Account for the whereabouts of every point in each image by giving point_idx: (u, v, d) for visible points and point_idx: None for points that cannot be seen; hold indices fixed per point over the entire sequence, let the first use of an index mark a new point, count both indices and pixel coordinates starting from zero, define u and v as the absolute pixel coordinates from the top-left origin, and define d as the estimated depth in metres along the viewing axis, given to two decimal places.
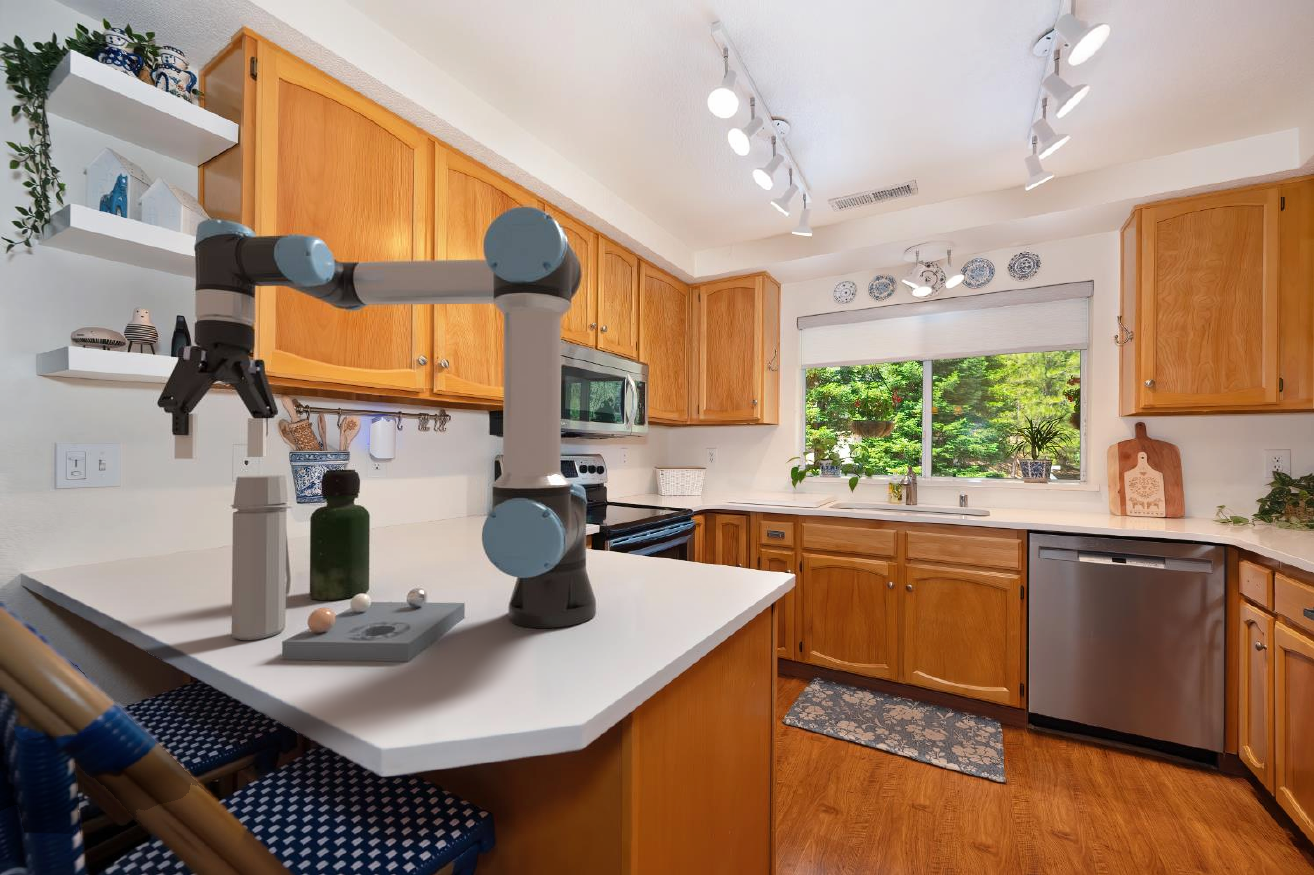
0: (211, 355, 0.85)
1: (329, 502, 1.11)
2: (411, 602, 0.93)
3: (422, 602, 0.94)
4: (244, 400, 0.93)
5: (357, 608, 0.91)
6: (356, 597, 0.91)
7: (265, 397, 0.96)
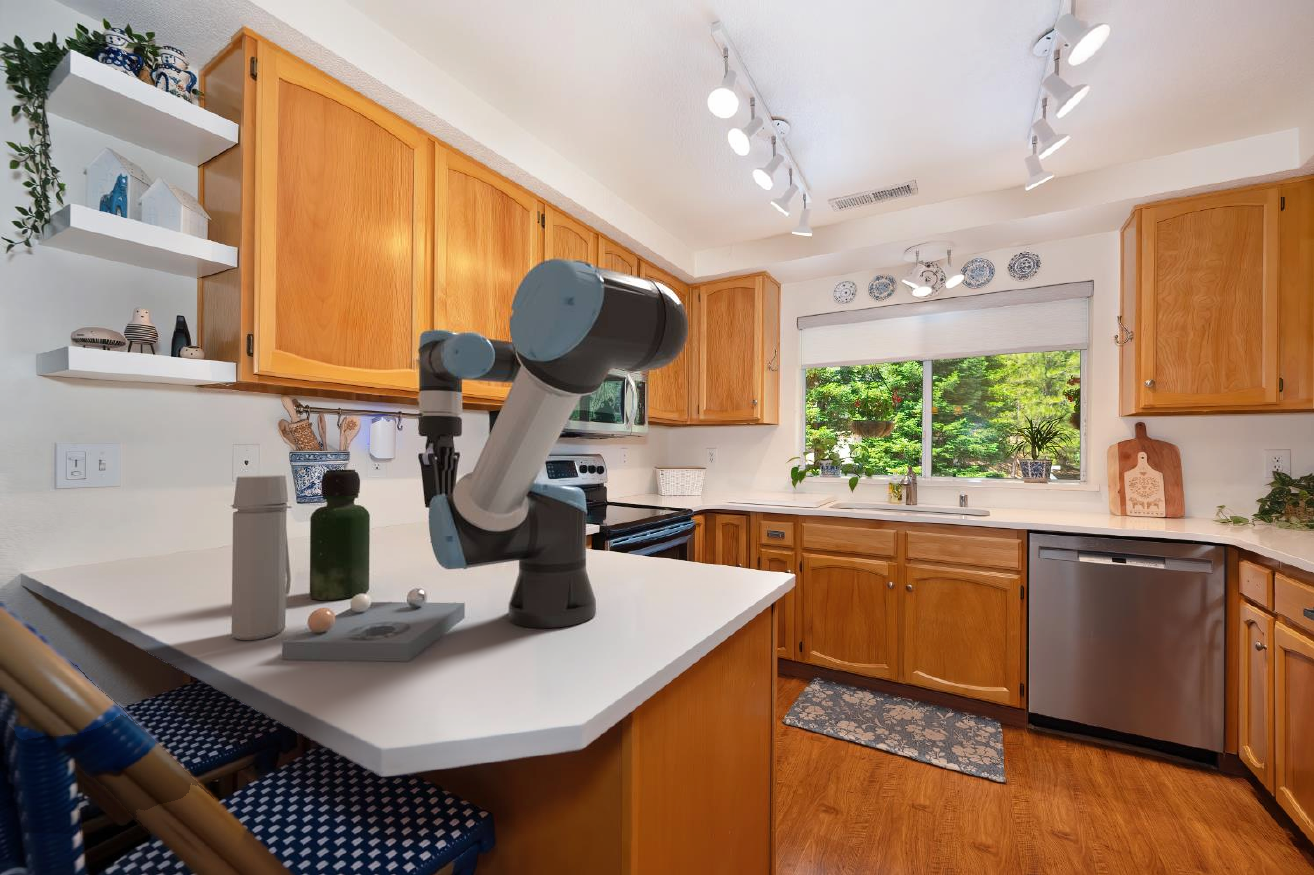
0: (437, 448, 1.01)
1: (329, 502, 1.11)
2: (411, 602, 0.93)
3: (422, 602, 0.94)
4: None
5: (357, 608, 0.91)
6: (356, 597, 0.91)
7: (451, 483, 1.07)
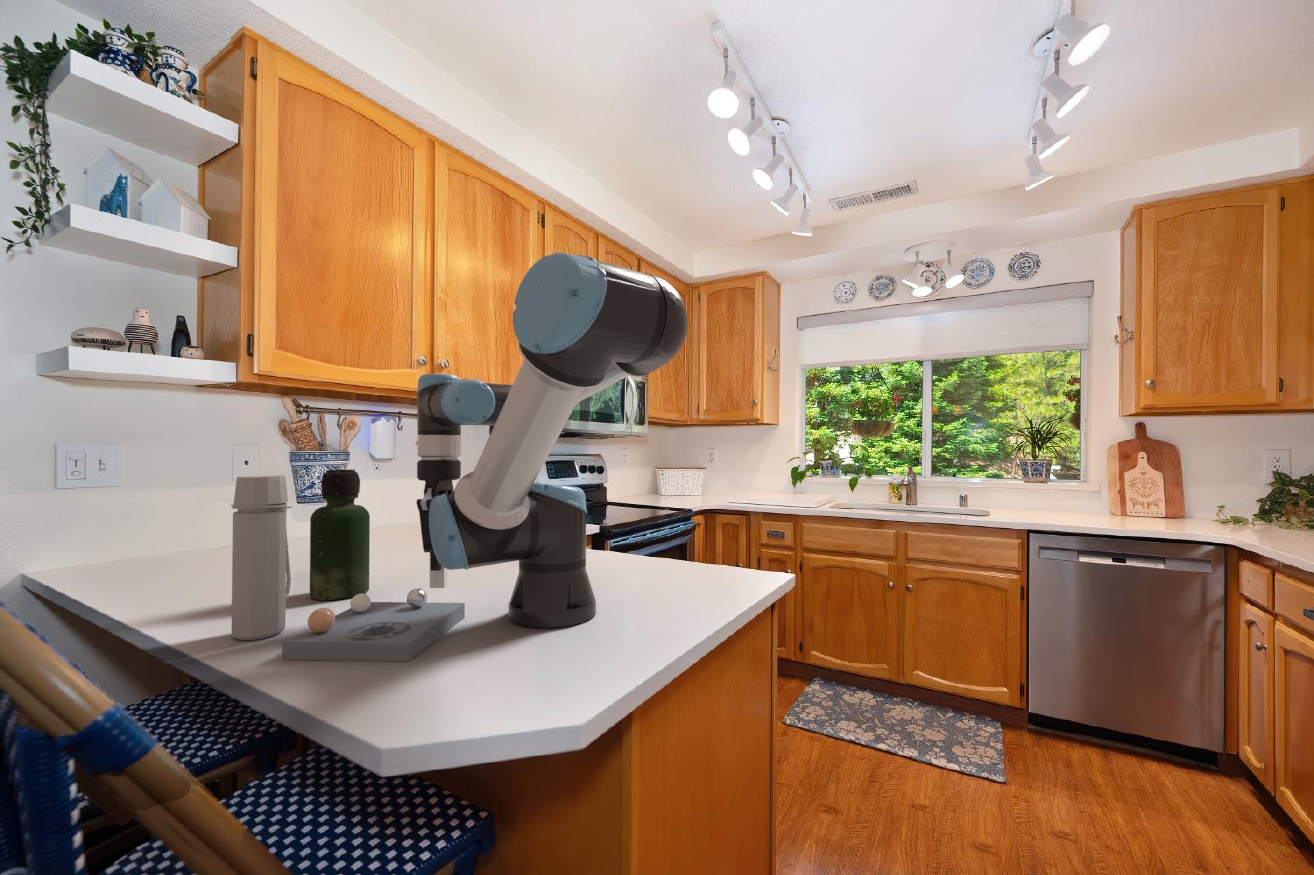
0: (435, 493, 1.00)
1: (329, 502, 1.11)
2: (411, 602, 0.93)
3: (422, 602, 0.94)
4: None
5: (357, 608, 0.91)
6: (356, 597, 0.91)
7: None
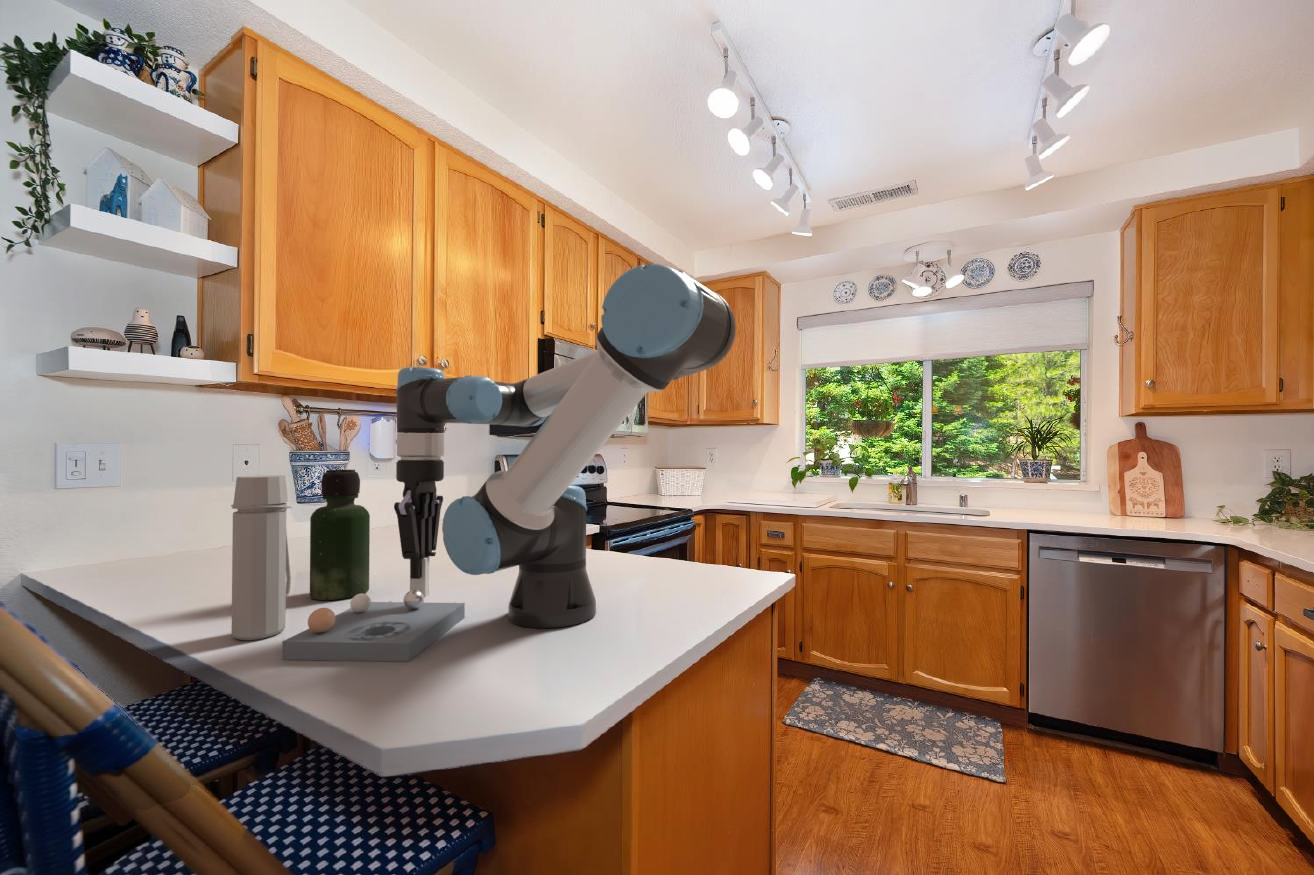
0: (415, 496, 0.93)
1: (329, 502, 1.11)
2: (409, 608, 0.93)
3: (421, 604, 0.93)
4: None
5: (357, 608, 0.91)
6: (356, 597, 0.91)
7: (432, 530, 0.99)
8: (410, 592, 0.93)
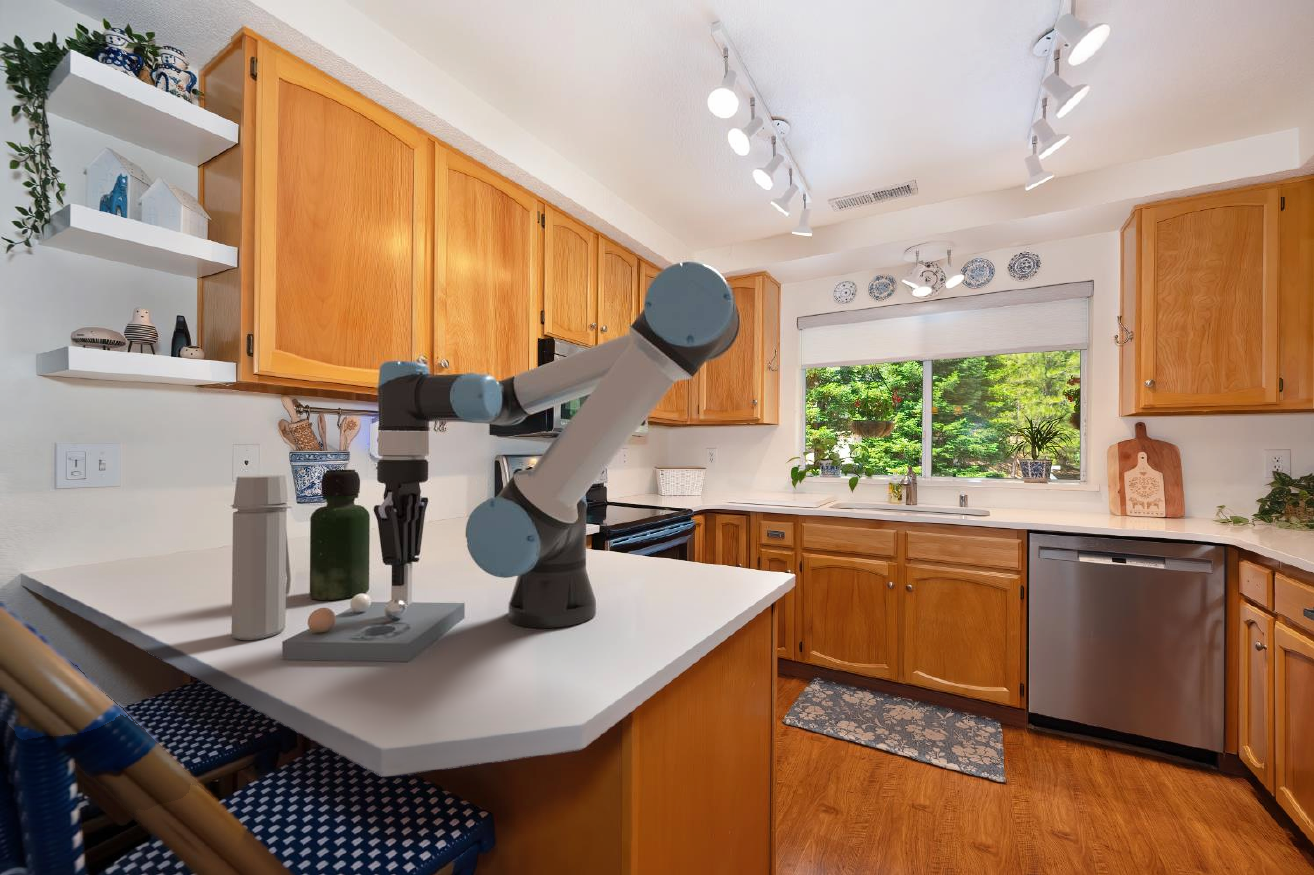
0: (397, 498, 0.87)
1: (329, 502, 1.11)
2: None
3: (405, 604, 0.89)
4: None
5: (357, 608, 0.91)
6: (356, 597, 0.91)
7: (416, 534, 0.94)
8: None
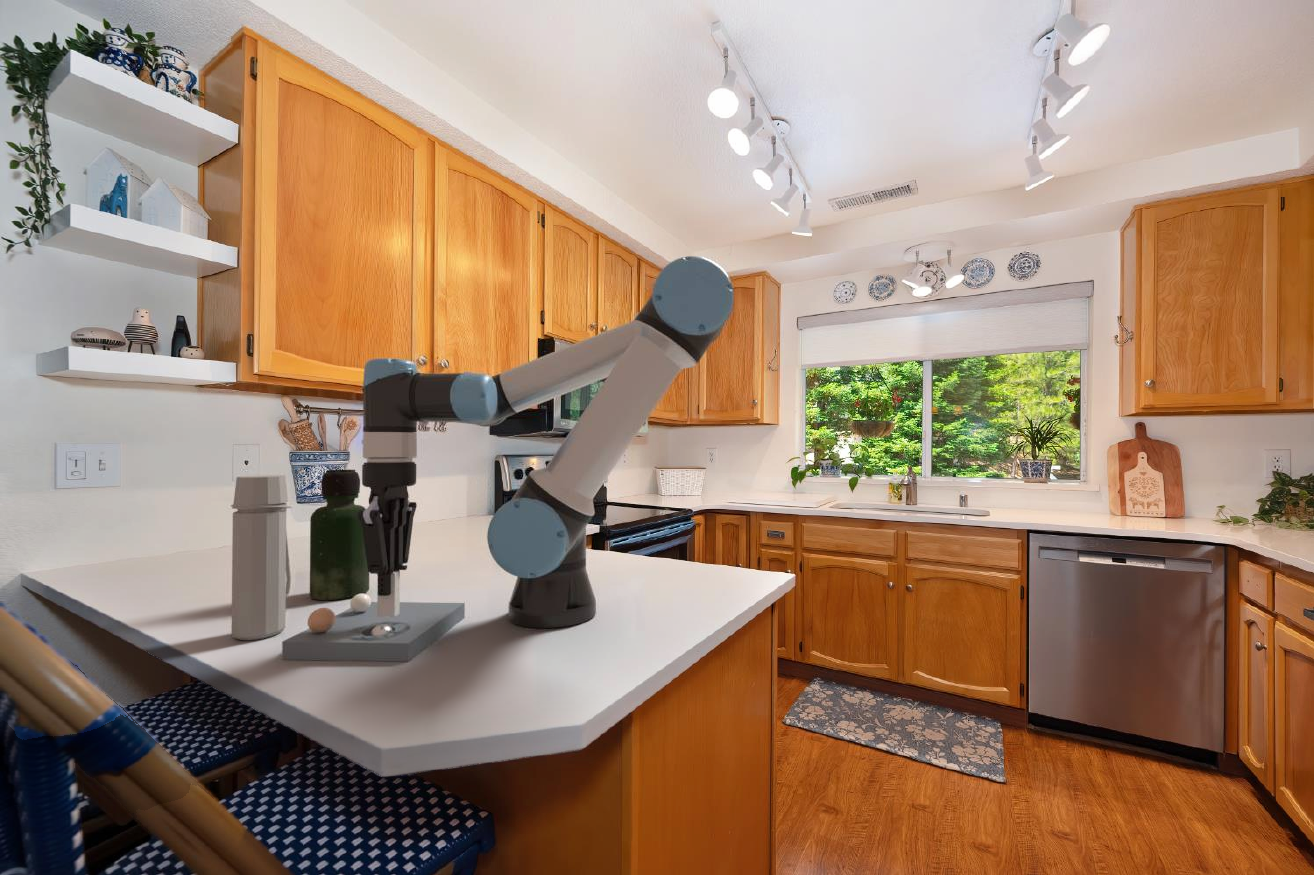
0: (383, 503, 0.82)
1: (329, 502, 1.11)
2: None
3: None
4: None
5: (357, 608, 0.91)
6: (356, 597, 0.91)
7: (404, 540, 0.89)
8: (379, 627, 0.83)
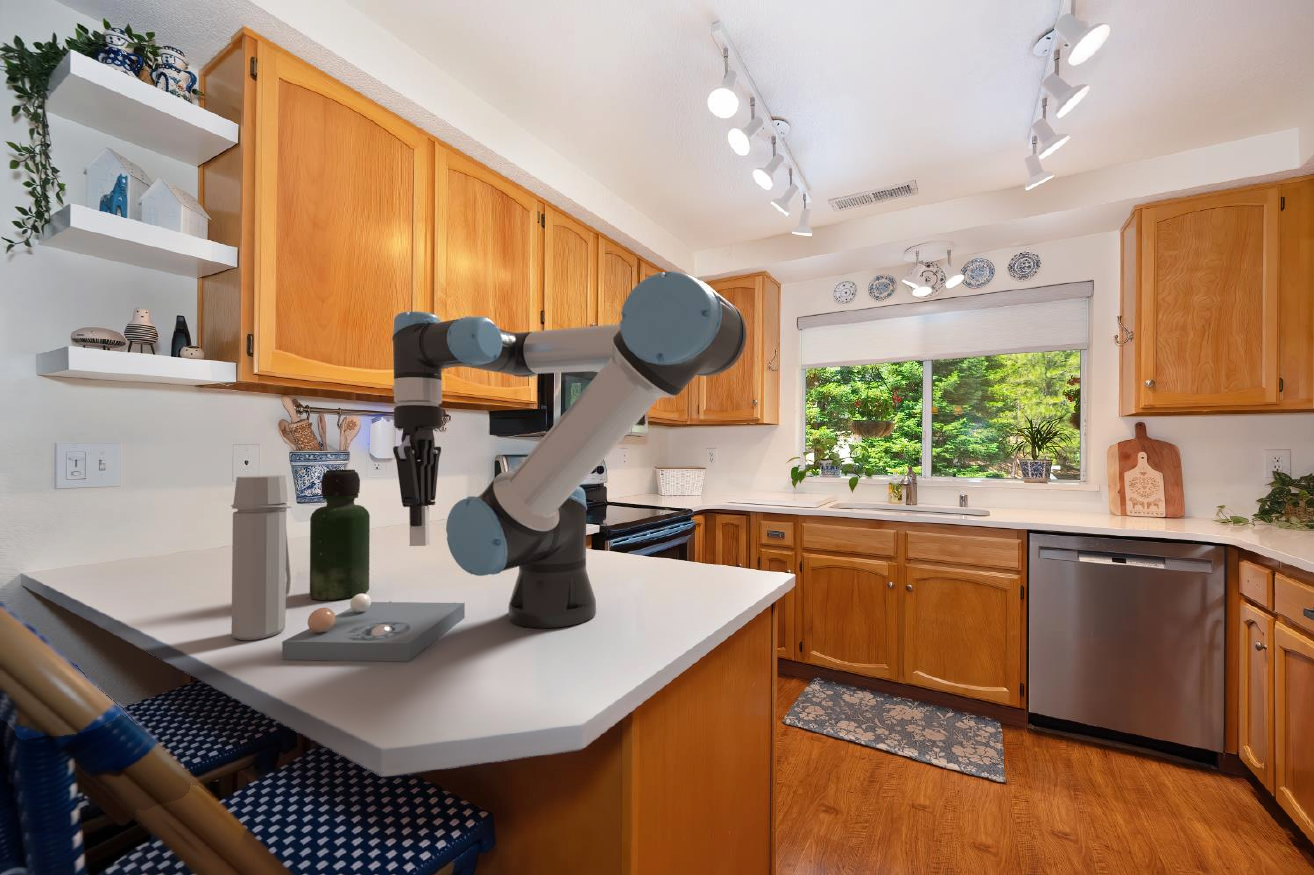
0: (414, 441, 0.91)
1: (329, 502, 1.11)
2: None
3: None
4: None
5: (357, 608, 0.91)
6: (356, 597, 0.91)
7: (431, 480, 0.98)
8: (378, 628, 0.83)
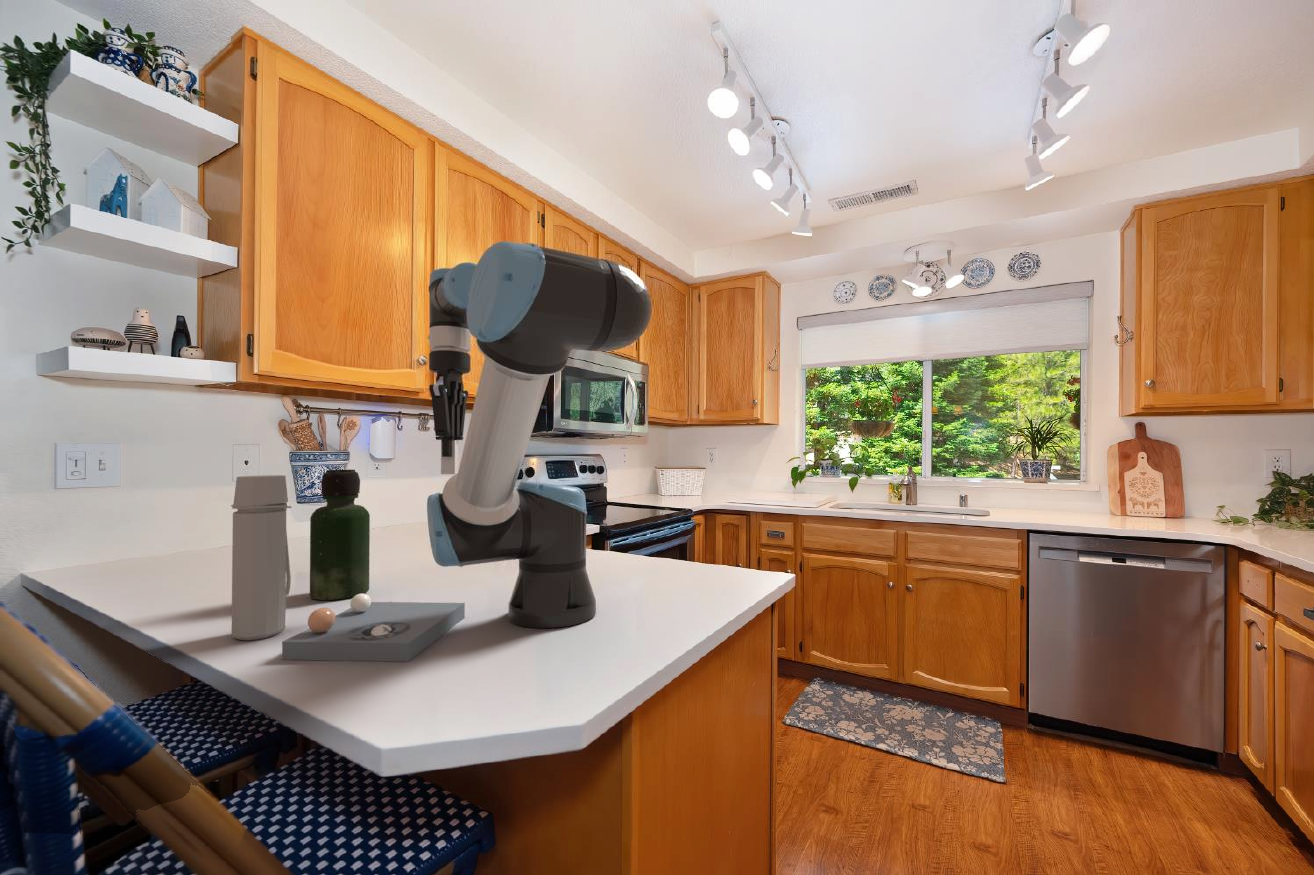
0: (447, 381, 1.05)
1: (329, 502, 1.11)
2: None
3: None
4: None
5: (357, 608, 0.91)
6: (356, 597, 0.91)
7: (459, 419, 1.11)
8: (378, 628, 0.82)
